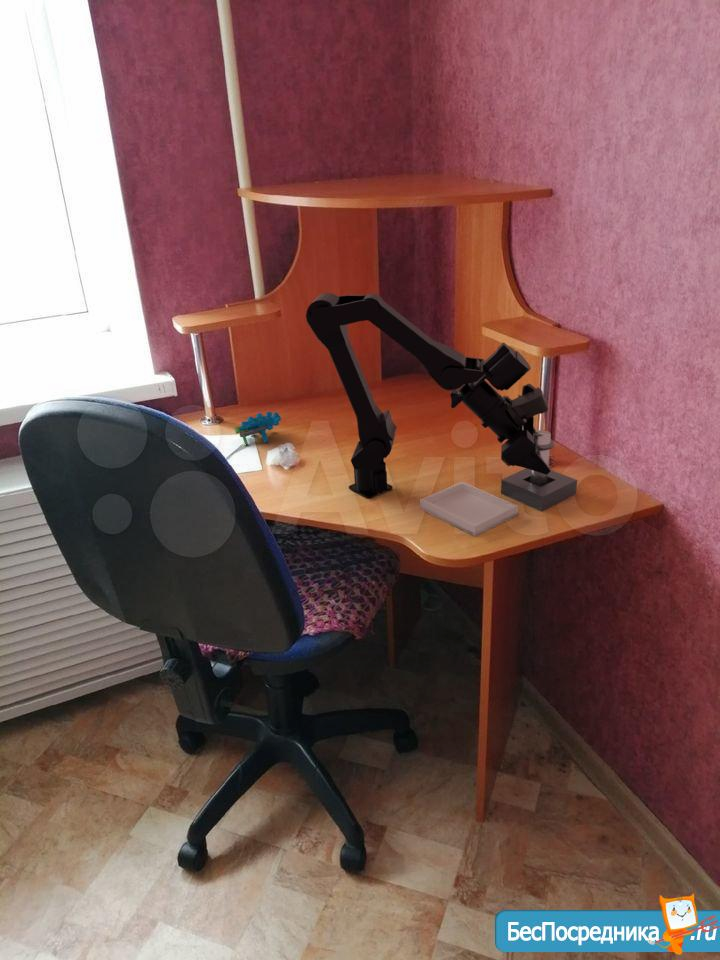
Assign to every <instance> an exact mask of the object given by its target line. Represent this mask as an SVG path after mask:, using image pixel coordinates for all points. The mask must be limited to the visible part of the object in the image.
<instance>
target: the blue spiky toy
mask: <svg viewBox="0 0 720 960" xmlns="http://www.w3.org/2000/svg"><path fill="white" fill-rule="evenodd" d="M255 416H256V417H253V416H249V417H247V418H246V420H244V421H241V423H240V426H235V427H234V430H235V434H236V435H237V434H239V436H240V438H242V440H243V443H244V445H245V444H248V445H249V443H248V439H247V437H249V436H253V434H254V435H256V434H259V433H261V437H262V440H263V443H264V444H268V443H269V438H268V435H267V433H266V430H268V431H271V430H273V429H274V427H275V426H279V425H280V422H282V417H281V416H280V414H279V413H278V412H273V413H272V411H267V412H265V415H263V414H262V412H259V413H257V414H256V415H255ZM267 442H268V443H267Z"/></svg>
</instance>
